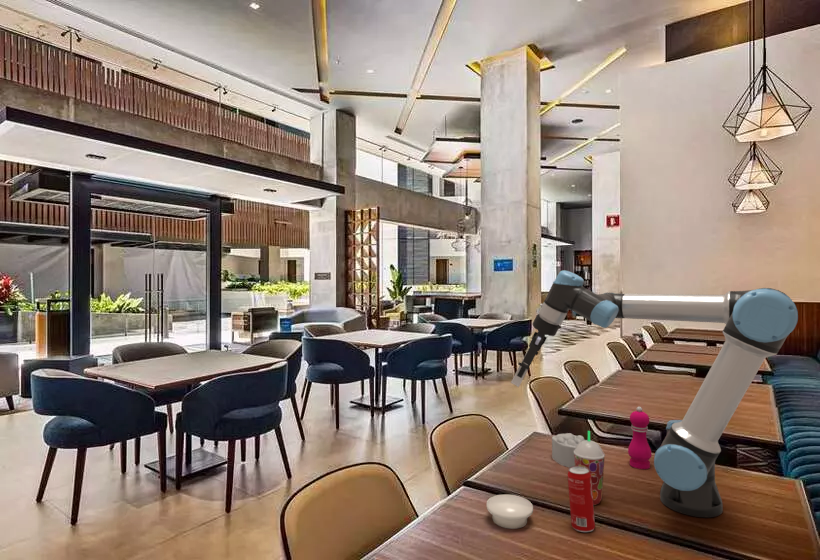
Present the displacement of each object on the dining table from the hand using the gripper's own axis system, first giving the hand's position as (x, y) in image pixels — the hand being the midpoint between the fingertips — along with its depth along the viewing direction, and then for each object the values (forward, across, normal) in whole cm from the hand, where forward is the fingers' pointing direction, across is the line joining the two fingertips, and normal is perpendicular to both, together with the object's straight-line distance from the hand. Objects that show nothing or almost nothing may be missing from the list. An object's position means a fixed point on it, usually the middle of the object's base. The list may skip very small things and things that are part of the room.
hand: (518, 377), depth 152 cm
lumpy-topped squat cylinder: (+25, -17, +29) cm, 42 cm away
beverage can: (+17, +27, +31) cm, 45 cm away
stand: (+25, +30, +15) cm, 42 cm away
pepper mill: (+16, -21, +48) cm, 55 cm away
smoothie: (+19, +11, +33) cm, 40 cm away
